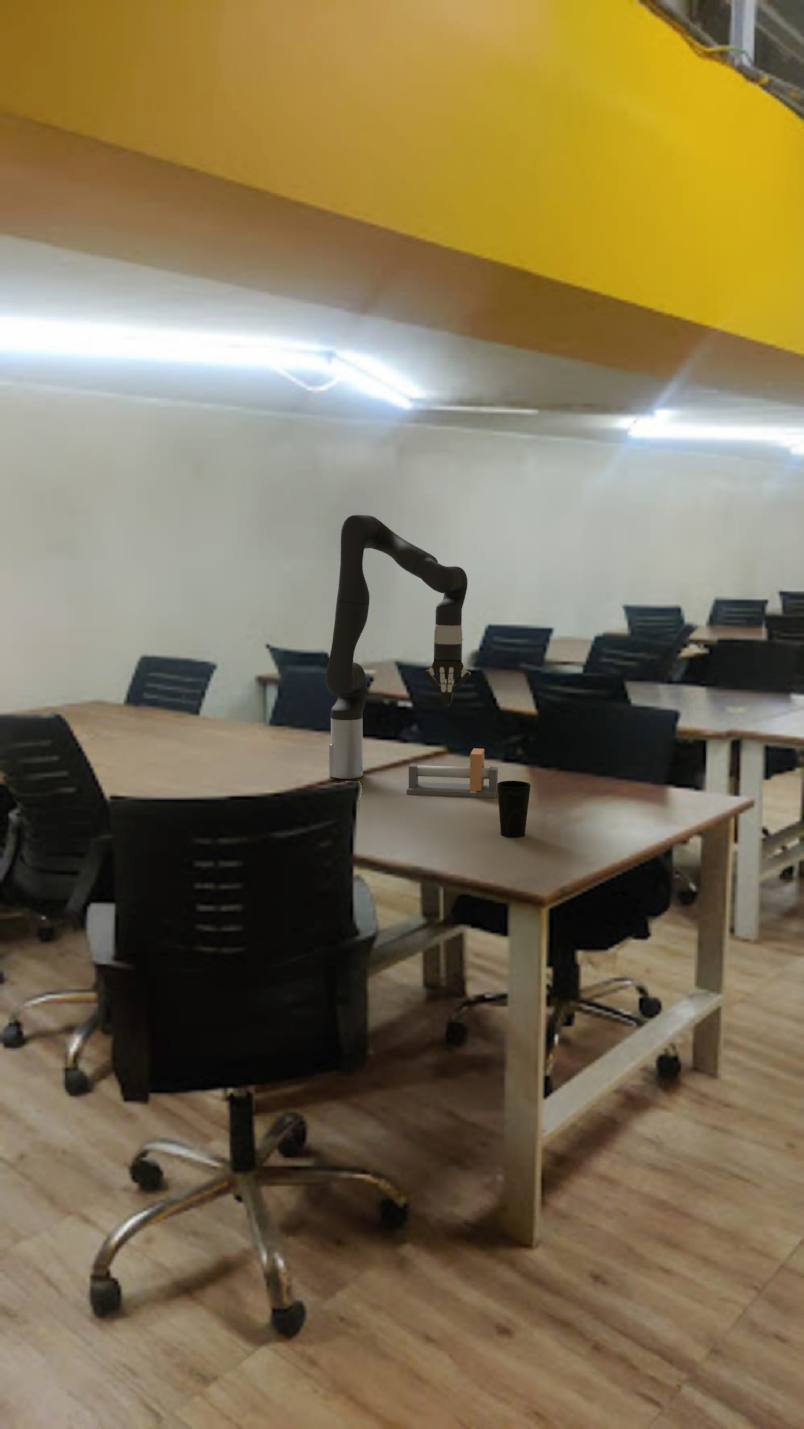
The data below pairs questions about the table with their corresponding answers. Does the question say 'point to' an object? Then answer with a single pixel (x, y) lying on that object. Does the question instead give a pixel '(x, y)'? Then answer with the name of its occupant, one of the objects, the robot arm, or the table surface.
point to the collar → (476, 769)
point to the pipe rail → (450, 788)
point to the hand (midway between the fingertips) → (446, 705)
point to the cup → (513, 807)
